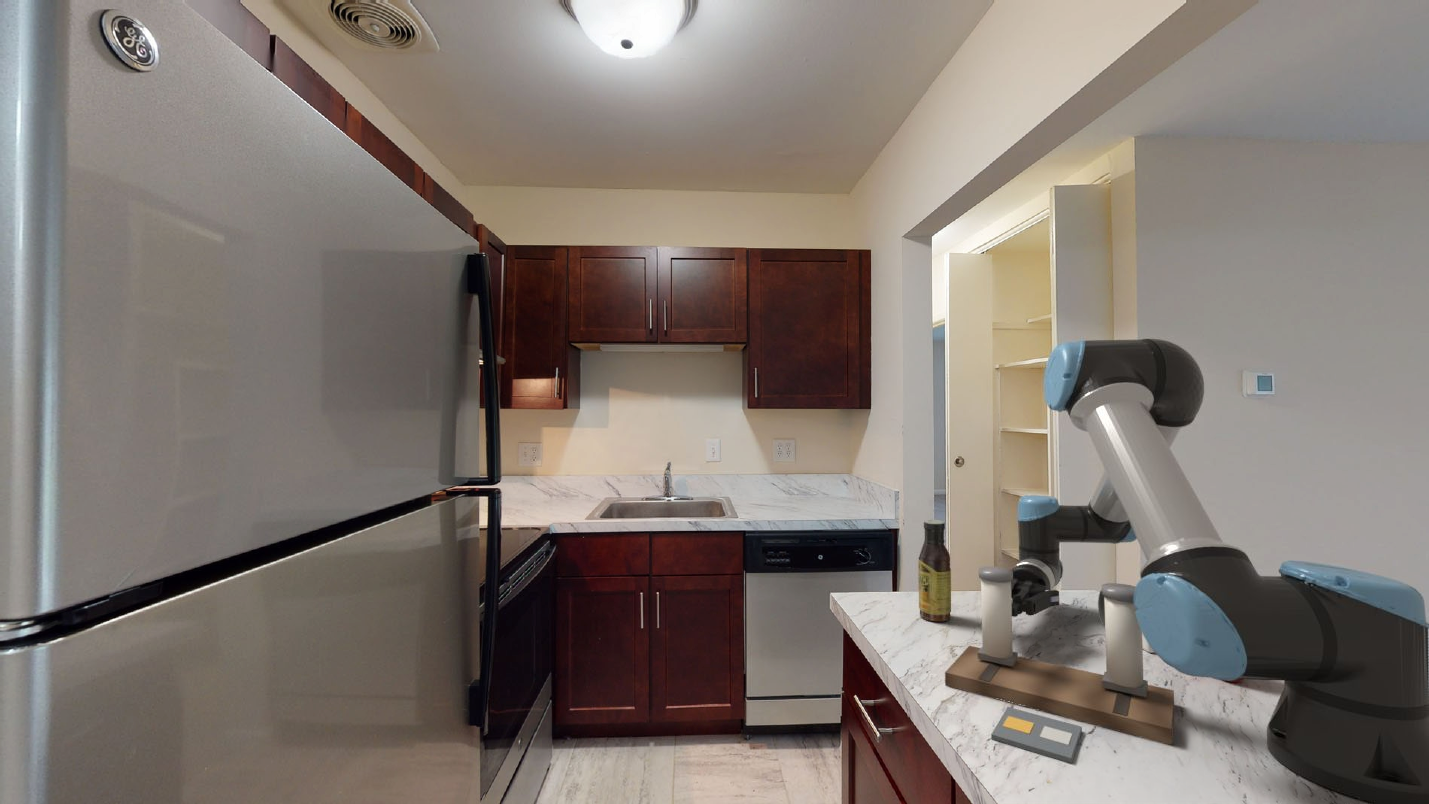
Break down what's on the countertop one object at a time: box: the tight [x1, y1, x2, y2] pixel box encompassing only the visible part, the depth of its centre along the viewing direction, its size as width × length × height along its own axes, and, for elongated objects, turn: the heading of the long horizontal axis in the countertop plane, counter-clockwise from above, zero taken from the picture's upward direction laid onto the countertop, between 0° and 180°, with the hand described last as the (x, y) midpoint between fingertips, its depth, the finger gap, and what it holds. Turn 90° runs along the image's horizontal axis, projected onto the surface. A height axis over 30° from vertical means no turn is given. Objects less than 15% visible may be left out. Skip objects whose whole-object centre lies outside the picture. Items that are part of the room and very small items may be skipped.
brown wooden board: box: [944, 645, 1175, 746], centre depth 90 cm, size 28×13×2 cm, turn 52°
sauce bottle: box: [917, 519, 952, 623], centre depth 123 cm, size 6×6×20 cm
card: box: [990, 706, 1083, 764], centre depth 79 cm, size 9×9×1 cm
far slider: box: [978, 565, 1019, 667], centre depth 97 cm, size 5×5×14 cm
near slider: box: [1101, 582, 1149, 697], centre depth 86 cm, size 5×5×14 cm
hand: (998, 616), depth 100 cm, fingers closed
